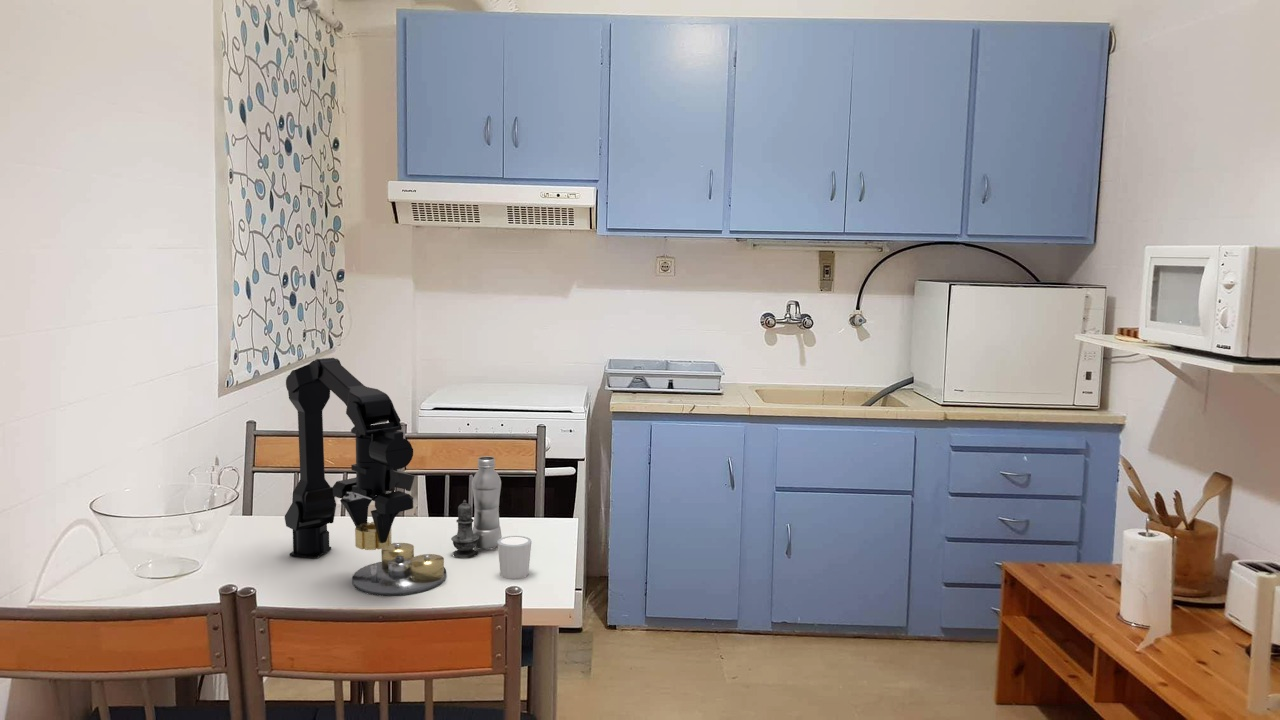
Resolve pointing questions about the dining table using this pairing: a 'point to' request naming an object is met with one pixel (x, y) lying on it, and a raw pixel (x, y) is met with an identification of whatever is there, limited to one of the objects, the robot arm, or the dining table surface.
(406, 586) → the carrier
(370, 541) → the gear
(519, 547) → the shot glass
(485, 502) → the plastic bottle
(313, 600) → the dining table surface
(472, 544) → the salt shaker
